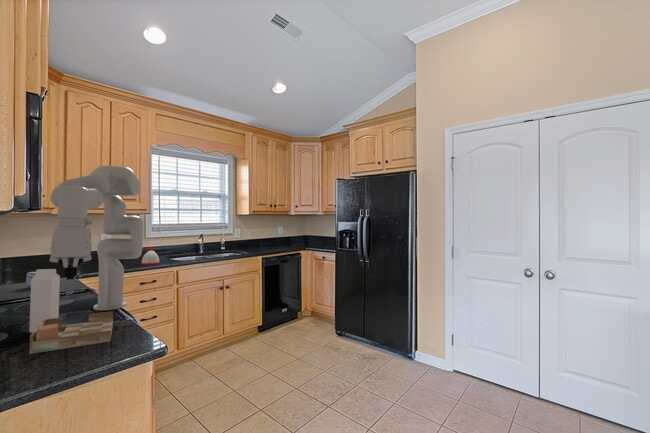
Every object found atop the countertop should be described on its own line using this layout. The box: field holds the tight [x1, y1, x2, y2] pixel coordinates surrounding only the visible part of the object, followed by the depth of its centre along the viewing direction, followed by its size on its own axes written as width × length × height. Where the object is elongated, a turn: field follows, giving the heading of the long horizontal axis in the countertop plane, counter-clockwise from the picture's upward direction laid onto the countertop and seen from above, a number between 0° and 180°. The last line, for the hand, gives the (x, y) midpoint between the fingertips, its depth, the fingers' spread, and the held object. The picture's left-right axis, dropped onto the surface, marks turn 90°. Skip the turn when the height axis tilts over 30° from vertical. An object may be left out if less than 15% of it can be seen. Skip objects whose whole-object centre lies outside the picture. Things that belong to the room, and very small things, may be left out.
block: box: [39, 324, 58, 340], centre depth 97 cm, size 4×4×4 cm
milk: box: [29, 268, 61, 333], centre depth 113 cm, size 6×6×22 cm
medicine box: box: [25, 271, 36, 289], centre depth 175 cm, size 8×4×9 cm, turn 76°
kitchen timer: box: [140, 247, 160, 266], centre depth 272 cm, size 14×14×15 cm
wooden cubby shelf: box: [28, 310, 114, 355], centre depth 105 cm, size 17×20×6 cm
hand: (70, 278), depth 101 cm, fingers closed
